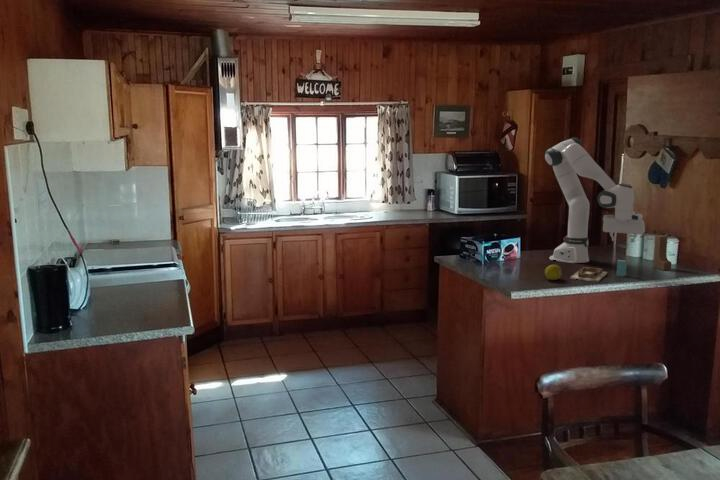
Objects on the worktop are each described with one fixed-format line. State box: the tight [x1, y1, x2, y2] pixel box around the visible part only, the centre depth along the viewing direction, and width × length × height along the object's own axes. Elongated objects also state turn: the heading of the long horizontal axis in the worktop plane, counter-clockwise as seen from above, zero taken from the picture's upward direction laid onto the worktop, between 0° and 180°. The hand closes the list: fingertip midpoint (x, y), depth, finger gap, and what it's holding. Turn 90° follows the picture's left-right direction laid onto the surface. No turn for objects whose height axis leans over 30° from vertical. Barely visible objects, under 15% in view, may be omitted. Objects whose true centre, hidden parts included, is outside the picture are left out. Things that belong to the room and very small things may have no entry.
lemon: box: [544, 264, 563, 281], centre depth 325 cm, size 11×8×8 cm
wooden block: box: [653, 234, 672, 271], centre depth 343 cm, size 9×4×18 cm, turn 12°
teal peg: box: [615, 259, 628, 278], centre depth 331 cm, size 4×4×8 cm
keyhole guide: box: [569, 266, 608, 283], centre depth 331 cm, size 14×20×3 cm
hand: (623, 241), depth 328 cm, fingers open, 8 cm apart
